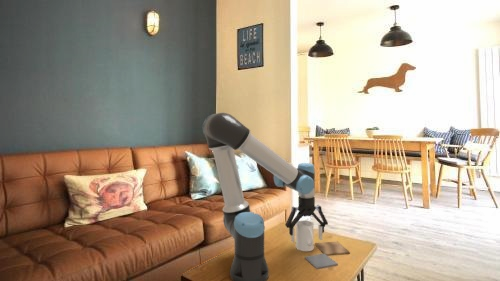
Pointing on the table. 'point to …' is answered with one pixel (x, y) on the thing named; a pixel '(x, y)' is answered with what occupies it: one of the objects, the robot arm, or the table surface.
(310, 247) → the mug
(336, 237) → the table surface
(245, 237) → the robot arm
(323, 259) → the slate coaster
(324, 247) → the walnut coaster
